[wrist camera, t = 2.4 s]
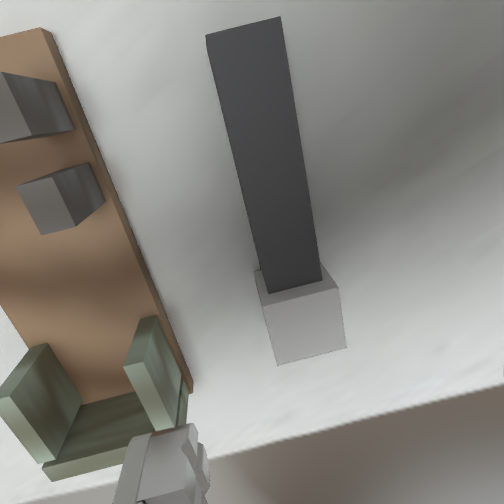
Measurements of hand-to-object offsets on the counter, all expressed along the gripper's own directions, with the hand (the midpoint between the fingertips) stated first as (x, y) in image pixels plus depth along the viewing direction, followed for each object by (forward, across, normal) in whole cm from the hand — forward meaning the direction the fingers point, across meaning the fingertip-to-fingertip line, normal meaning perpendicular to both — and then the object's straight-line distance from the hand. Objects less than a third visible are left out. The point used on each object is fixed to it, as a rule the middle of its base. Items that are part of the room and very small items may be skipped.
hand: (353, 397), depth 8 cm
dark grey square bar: (+12, 0, -3) cm, 12 cm away
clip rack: (+12, +12, -2) cm, 17 cm away
